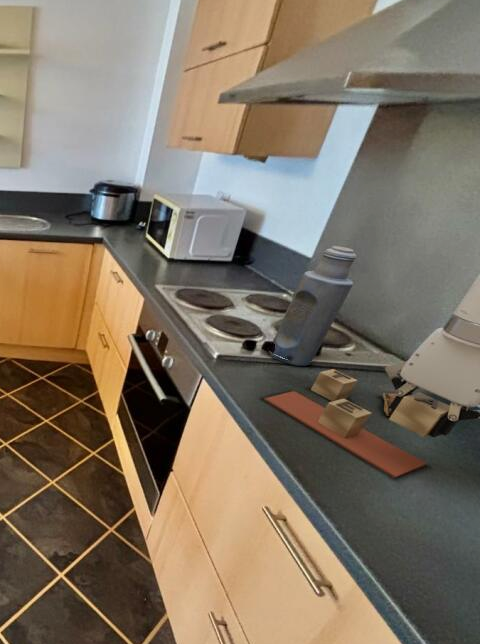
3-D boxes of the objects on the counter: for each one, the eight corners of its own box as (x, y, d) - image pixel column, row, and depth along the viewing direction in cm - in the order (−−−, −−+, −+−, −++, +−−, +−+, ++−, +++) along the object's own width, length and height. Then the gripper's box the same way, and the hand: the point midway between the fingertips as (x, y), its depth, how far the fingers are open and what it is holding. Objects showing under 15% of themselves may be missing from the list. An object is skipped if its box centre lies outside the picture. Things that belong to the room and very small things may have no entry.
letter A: (439, 431, 72) (457, 407, 69) (423, 437, 70) (442, 412, 67) (403, 414, 76) (420, 391, 73) (388, 419, 74) (404, 395, 72)
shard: (384, 417, 89) (389, 410, 88) (354, 396, 96) (358, 389, 95) (431, 418, 90) (436, 411, 89) (397, 397, 96) (402, 391, 96)
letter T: (346, 398, 95) (358, 379, 92) (333, 402, 93) (344, 383, 90) (323, 386, 99) (333, 368, 96) (310, 390, 97) (320, 371, 95)
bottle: (259, 349, 114) (307, 242, 101) (288, 348, 116) (338, 242, 103) (289, 367, 106) (346, 253, 92) (320, 365, 108) (379, 253, 94)
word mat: (425, 465, 76) (426, 463, 76) (394, 478, 72) (396, 476, 72) (293, 392, 95) (293, 390, 95) (263, 399, 92) (264, 398, 92)
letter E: (359, 433, 82) (372, 412, 80) (344, 438, 81) (357, 416, 78) (332, 417, 87) (344, 397, 84) (317, 422, 85) (328, 401, 82)
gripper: (575, 356, 59) (492, 453, 67) (423, 309, 73) (370, 394, 81) (553, 363, 56) (469, 463, 64) (400, 312, 70) (347, 400, 78)
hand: (414, 423), depth 73 cm, fingers closed on letter A, 5 cm apart
